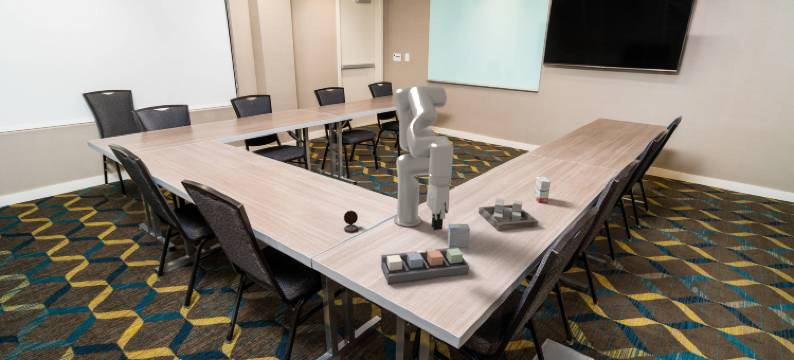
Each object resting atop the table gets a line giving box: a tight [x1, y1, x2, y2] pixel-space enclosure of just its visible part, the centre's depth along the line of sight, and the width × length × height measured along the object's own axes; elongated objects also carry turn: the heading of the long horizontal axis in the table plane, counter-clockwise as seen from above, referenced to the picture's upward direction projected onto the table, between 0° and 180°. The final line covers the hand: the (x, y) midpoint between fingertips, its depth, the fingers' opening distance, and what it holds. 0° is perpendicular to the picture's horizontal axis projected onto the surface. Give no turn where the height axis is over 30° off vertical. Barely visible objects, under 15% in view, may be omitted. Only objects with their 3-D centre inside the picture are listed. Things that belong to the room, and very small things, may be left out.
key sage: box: [446, 247, 464, 263], centre depth 145 cm, size 4×4×3 cm
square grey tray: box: [478, 203, 539, 232], centre depth 187 cm, size 20×20×3 cm
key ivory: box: [387, 255, 402, 271], centre depth 140 cm, size 4×4×3 cm
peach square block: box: [427, 250, 443, 266], centre depth 144 cm, size 4×4×3 cm
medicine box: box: [447, 223, 471, 248], centre depth 162 cm, size 8×4×9 cm, turn 92°
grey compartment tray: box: [380, 247, 470, 285], centre depth 143 cm, size 11×30×5 cm, turn 104°
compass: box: [343, 210, 363, 233], centre depth 174 cm, size 8×8×7 cm
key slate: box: [407, 253, 423, 268], centre depth 142 cm, size 4×4×3 cm
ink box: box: [533, 176, 551, 204], centre depth 210 cm, size 9×5×12 cm, turn 179°
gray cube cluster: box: [493, 198, 523, 223], centre depth 186 cm, size 12×12×8 cm
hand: (436, 228), depth 140 cm, fingers closed
